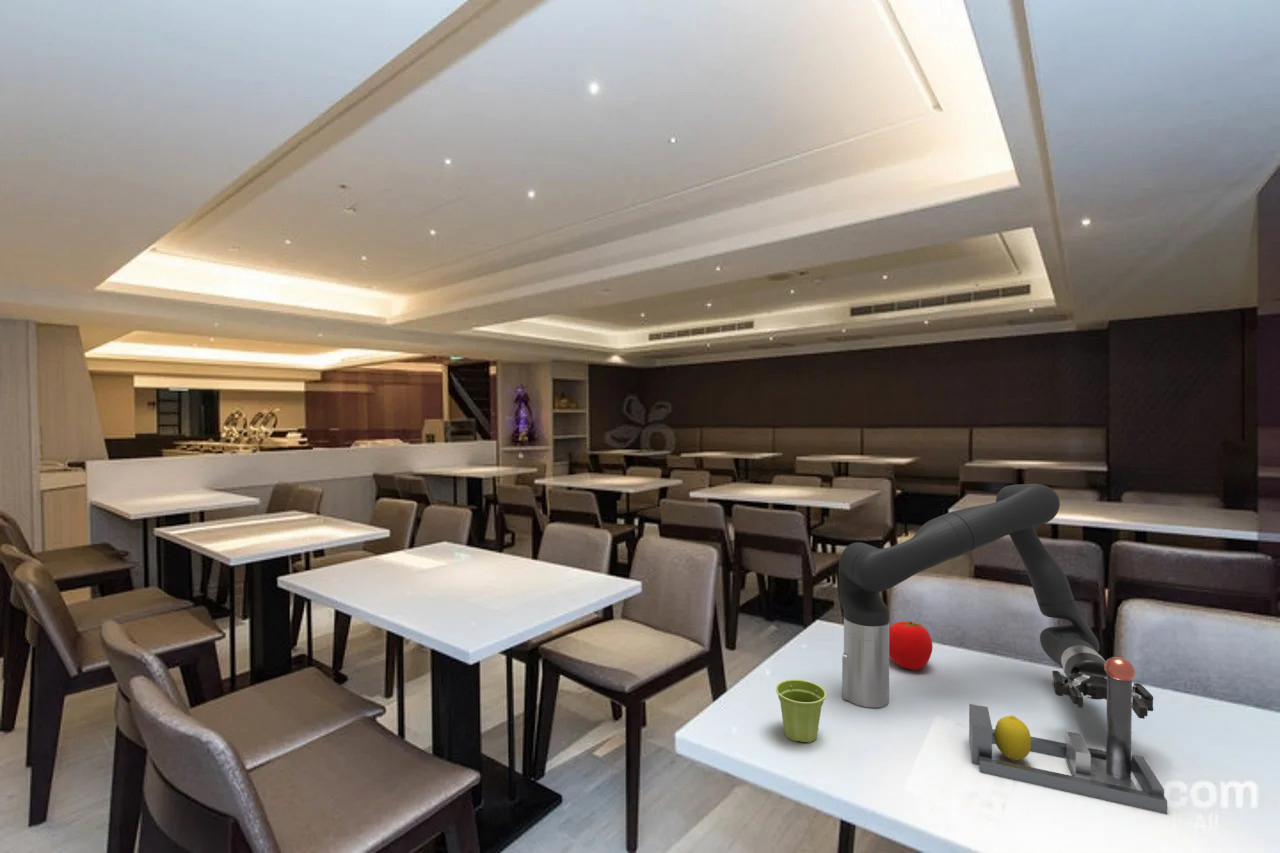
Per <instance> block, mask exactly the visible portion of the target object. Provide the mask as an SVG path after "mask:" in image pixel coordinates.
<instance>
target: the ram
mask: <svg viewBox="0 0 1280 853" xmlns="http://www.w3.org/2000/svg"><path fill="white" fill-rule="evenodd" d="M1105 661H1106V662H1105V664H1104V669H1105V672H1106V674H1107V700H1106V739H1105V740H1106V742H1105V743H1106V748H1105V751H1106V760H1103V759H1098V758H1093V757H1091V754H1090V752H1089V750H1088V748H1089V747H1088V746H1087V744H1086V743H1085V740H1084V738H1083V736H1082V734H1081V733H1078V732H1075V731H1074V732H1073V731H1068V730H1066V743H1067V751H1066V758H1065V760H1066V762H1067V764H1068V767H1069V770H1070V773H1071V776H1075V777H1079V778H1084V779H1089V780H1093V781H1098V782H1103V783H1107V784H1112V785H1117V786H1121V787H1126V788H1131V789H1135V790H1138V788H1137V786H1136V785H1135V782H1134V781H1133V779H1132V771H1131V756H1132V723H1133V722H1132V719H1133V718H1132V716H1133V714H1132V711H1133V708H1132V687H1133V680H1134V678H1135V676H1136V669H1135V667H1134V665H1133V663H1131V662H1130V661H1129V660H1128V659H1126V658H1123V657H1120V656H1111V657H1109V658H1107V659H1106V660H1105Z"/></svg>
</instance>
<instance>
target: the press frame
mask: <svg viewBox="0 0 1280 853" xmlns="http://www.w3.org/2000/svg"><path fill="white" fill-rule="evenodd" d="M968 707H969V708H968V709H969V710H968V711H969V712H968V714H969V715H968V716H969V718H968V720H969V721H968V728H969V729H968V731H969V732H968V734H969V735H968V741H969V742H968V743H969V751H970V757H971V763H972V764H974V765H978V768H979V770H978V771H979V772H980V773H984V774H989V775H993V776H996V777H997V776H998V777H1002V778H1006V779H1010V780H1014V781H1015V780H1016V781H1019V782H1024V783H1028V784H1034V785H1037V786H1043V787H1045V788H1050V789H1056V790H1058V791H1059V790H1060V791H1064V792H1069V793H1072V794H1073V793H1074V794H1077V795H1081V796H1086V797H1091V798H1095V799H1100V800H1104V801H1107V802H1108V801H1109V802H1113V803H1117V804H1123V805H1127V806H1131V807H1135V808H1139V809H1144V810H1148V811H1151V812H1156V813H1160V814H1168V799H1167V798H1166V796H1165V788H1164V787H1163V785H1162V783H1161V782H1160V780H1159V779H1158V778H1157V776H1156V773H1154V771H1153V770H1152V768H1151V766H1150V765H1149V763H1148V761H1147V760H1146V759H1145V757H1144V756H1143V755H1139V754H1135V753H1131V774H1133V776H1134V778H1135V780H1136V781H1137V783H1138V785H1139V787H1140V788H1141V790H1138V789H1137V790H1135V789H1131V788H1126V787H1121V786H1117V785H1112V784H1107V783H1103V782H1098V781H1093V780H1089V779H1084V778H1079V777H1075V776H1073V775H1070V774H1066V773H1061V772H1055V771H1051V770H1047V769H1042V768H1036V767H1031V766H1028V765H1023V764H1017V763H1014V762H1008V761H1003V760H999V759H995V758H993V744H994V745H996V742H995V736H994V733H995V728H993V725H992V720H991V716H990V712H989V711H990V710H989V707H988V706H983V705H978V704H972V703H969V705H968ZM1087 748H1088V750H1089V752H1090V754H1091V757H1093V758H1098V759H1103V760H1106V750H1102V749H1098V748H1092V747H1087ZM1066 751H1067V742H1061V741H1056V740H1051V739H1045V738H1040V737H1035V736H1031V750H1030V752H1034V753H1040V754H1043V755H1044V754H1045V755H1048V756H1049V755H1050V756H1055V757H1060V758H1065V759H1066Z"/></svg>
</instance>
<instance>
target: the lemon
mask: <svg viewBox="0 0 1280 853" xmlns="http://www.w3.org/2000/svg"><path fill="white" fill-rule="evenodd" d="M994 729H995V733H994V736H995V742H996V744H995V745H996V747H997V748H998V750H999V751H1000V753H1001V754H1003V755H1004V756H1005V757H1006V758H1008V759H1009V760H1010V761H1012V762H1015V761H1017V760H1023V759H1025V758H1026V757H1027V756H1028V755H1029V753H1030V752H1031V751H1030V750H1031V737H1032V735H1031V733H1030V729H1029V727H1028V726H1027V725H1026V724H1025V722H1023V721H1022V719H1019V718H1018V717H1016V716H1015V715H1006V716H1003V717H1001V718H999V720H998V721H997V722H996V724H995V728H994Z"/></svg>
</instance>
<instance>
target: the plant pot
mask: <svg viewBox="0 0 1280 853" xmlns="http://www.w3.org/2000/svg"><path fill="white" fill-rule="evenodd" d="M775 692H776V694H777V696H778V700H779V701H780V702H779V703H780V708H781V709H780V710H781V716H782V718H781V719H782V726H783V732H784V733H783V734H784V735H785V737H787V738H788V737H789V738H790V739H789V738H788V739H789V740H791V739H793V740H794V741H793V740H792V741H793V742H802V743H803V742H809V743H812V741H813V742H814V741H815V739H816V740H817V738H818V732H819V726H820V719H821V710H822V707H823V705H824V701H825V699H826V698H827V691H826V690H825V689H824V687H822V686H821V685H819V684H817V683H815V682H812V681H809V680H803V679H786V680H782V681H781V682H779V683H777V684H776V686H775Z"/></svg>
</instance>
